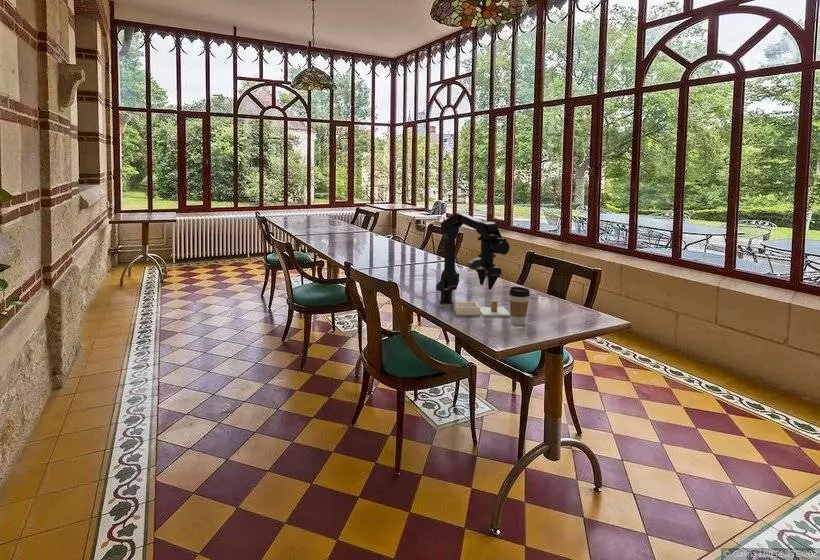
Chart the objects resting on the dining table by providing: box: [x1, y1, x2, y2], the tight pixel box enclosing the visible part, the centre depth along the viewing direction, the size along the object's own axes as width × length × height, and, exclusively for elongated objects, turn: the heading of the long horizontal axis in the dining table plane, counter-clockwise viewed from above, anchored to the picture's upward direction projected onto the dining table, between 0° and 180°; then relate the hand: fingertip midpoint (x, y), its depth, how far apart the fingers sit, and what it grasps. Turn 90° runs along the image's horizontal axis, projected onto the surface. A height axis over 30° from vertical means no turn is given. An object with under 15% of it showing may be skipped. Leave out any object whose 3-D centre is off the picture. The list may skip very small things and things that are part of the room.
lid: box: [480, 299, 510, 318], centre depth 236 cm, size 12×12×6 cm
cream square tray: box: [453, 301, 481, 317], centre depth 237 cm, size 10×10×4 cm
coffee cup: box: [508, 286, 531, 326], centre depth 221 cm, size 8×8×15 cm
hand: (485, 287), depth 232 cm, fingers open, 9 cm apart
